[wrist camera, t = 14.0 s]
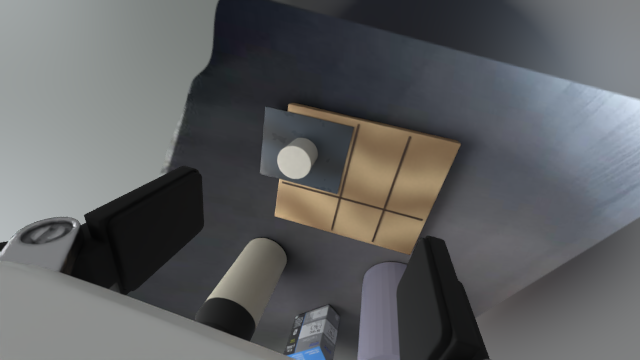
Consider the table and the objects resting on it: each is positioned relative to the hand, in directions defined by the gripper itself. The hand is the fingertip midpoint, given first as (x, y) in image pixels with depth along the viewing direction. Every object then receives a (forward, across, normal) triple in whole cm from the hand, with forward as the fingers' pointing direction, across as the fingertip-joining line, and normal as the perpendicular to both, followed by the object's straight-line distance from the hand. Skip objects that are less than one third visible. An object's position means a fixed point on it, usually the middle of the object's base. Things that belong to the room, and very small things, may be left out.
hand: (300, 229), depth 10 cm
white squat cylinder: (+23, +6, +6) cm, 25 cm away
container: (+25, -13, +26) cm, 38 cm away
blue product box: (+25, -2, +40) cm, 47 cm away
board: (+25, 0, +9) cm, 26 cm away
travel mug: (+25, +10, +28) cm, 39 cm away
